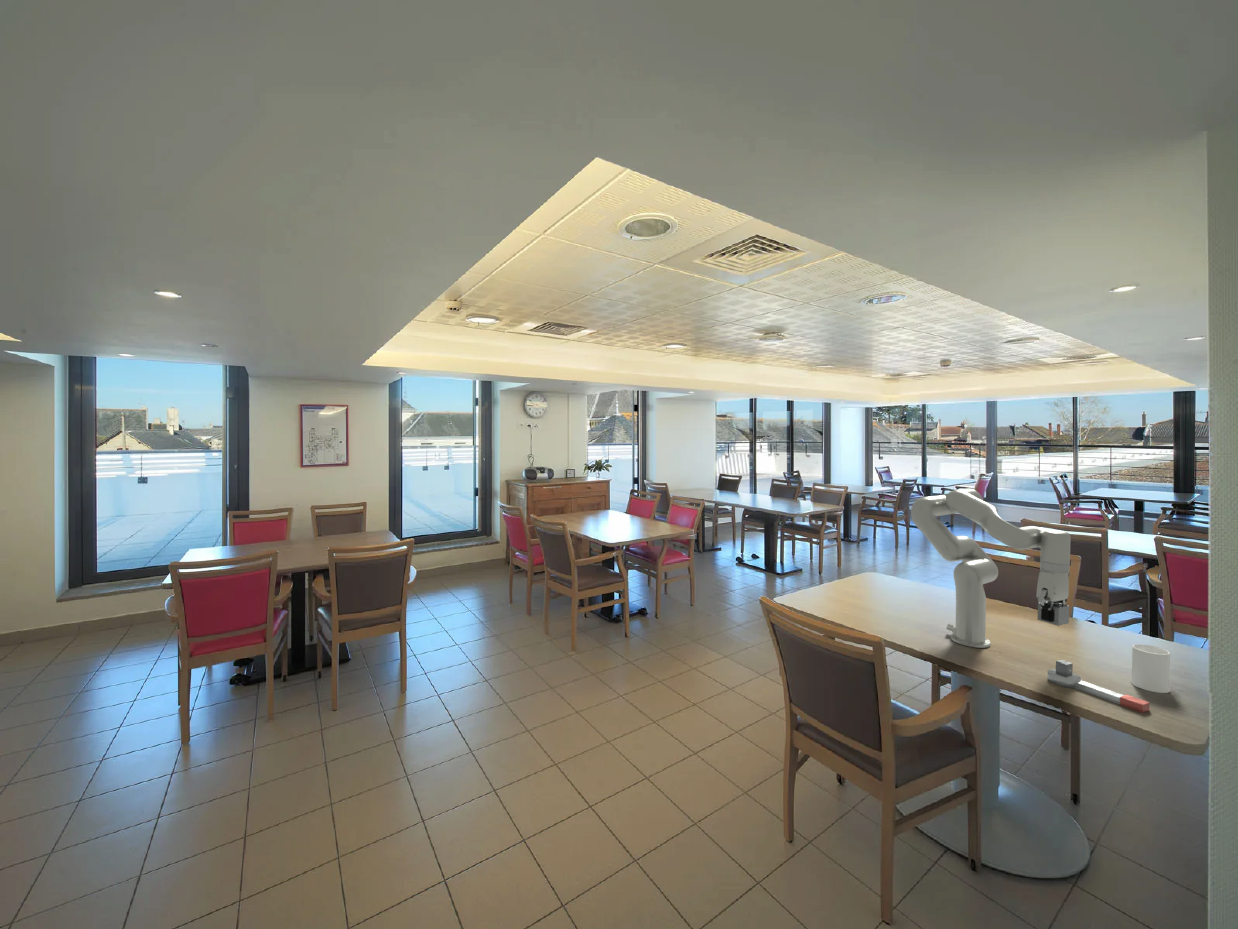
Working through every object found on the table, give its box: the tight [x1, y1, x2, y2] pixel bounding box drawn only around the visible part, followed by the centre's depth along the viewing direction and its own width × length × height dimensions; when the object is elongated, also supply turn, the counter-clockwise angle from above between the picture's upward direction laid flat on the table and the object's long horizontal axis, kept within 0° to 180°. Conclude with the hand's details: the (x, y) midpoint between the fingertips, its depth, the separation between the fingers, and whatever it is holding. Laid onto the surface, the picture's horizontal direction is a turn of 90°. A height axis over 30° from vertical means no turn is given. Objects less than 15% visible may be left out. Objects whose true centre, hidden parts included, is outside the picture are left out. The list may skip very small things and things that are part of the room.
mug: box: [1130, 643, 1171, 694], centre depth 156 cm, size 12×8×12 cm
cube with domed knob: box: [1036, 601, 1070, 627], centre depth 169 cm, size 6×6×7 cm
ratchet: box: [1047, 659, 1150, 714], centre depth 153 cm, size 24×8×6 cm, turn 22°
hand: (1052, 618), depth 169 cm, fingers closed on cube with domed knob, 6 cm apart
